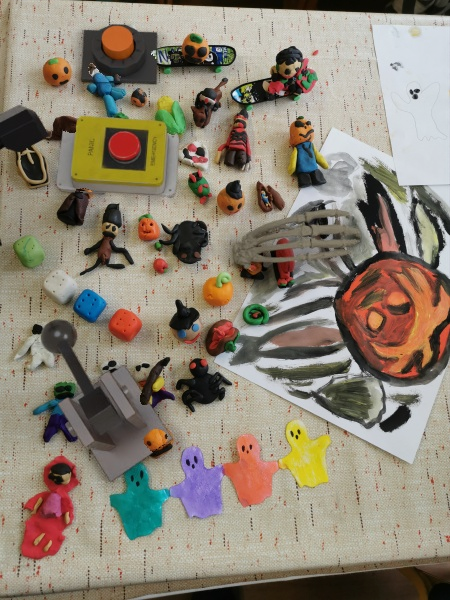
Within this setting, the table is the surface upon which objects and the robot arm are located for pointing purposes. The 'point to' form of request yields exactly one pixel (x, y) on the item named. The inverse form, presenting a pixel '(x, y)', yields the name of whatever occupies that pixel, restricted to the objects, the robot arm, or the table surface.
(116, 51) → the orange button
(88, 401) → the switch lever
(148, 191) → the emergency button
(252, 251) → the skeletal hand
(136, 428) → the switch bracket
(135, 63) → the button box
